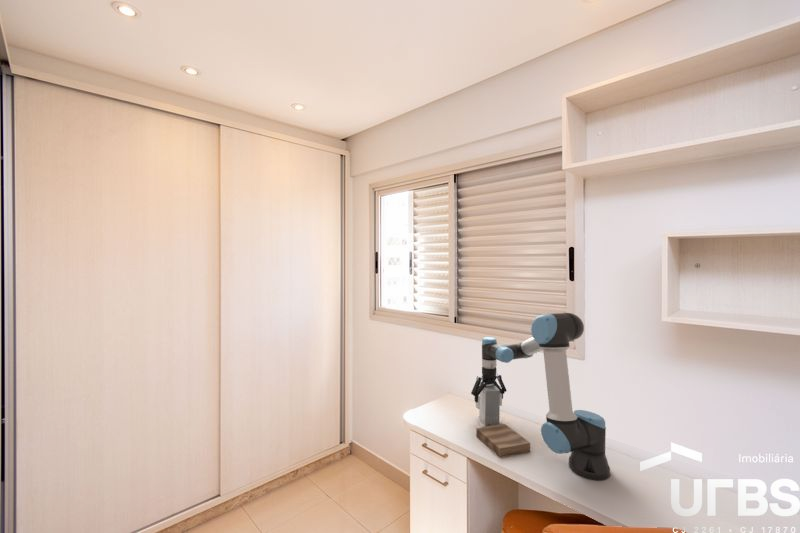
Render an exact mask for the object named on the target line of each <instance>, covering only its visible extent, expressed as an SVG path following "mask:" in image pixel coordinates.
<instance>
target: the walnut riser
mask: <svg viewBox="0 0 800 533" xmlns="http://www.w3.org/2000/svg"><path fill="white" fill-rule="evenodd" d="M475 430H476V431H475V432H476V433H475V436H476V438H478V439H479V440H480V441H481V442H482V443H483V444H484V445H486V446H487V448H488V449H490V450H491V451H492V452H493V453H494V454H495V455H497V457H498V458H504V457H509V456H514V455H520V454H521V455H522V454H525V453H531V442H530V441H528V439H526V438H524V437H523V436H522V435H520V434H519V433H518V432H516V431H515V430H513V429H512V428H511V427H510V426H508V425H507V424H505V423H499V425H493V426H487V427H484V426H482V427H481V426H480V427H476V429H475Z"/></svg>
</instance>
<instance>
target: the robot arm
mask: <svg viewBox="0 0 800 533" xmlns="http://www.w3.org/2000/svg"><path fill="white" fill-rule="evenodd" d="M584 330H585V324H584V322H583V320H582V319H581V318H580V317H579V316H578V315H576V314H574V313H571V312H562V313H561V312H560V313H558V312H557V313H545V314H540V315H538V316H536V317H535V319H534V320H533V321H532V324H531V327H530V333H531V337H529V338H527V339H525V340H524V341H522V342H519V343H513V344H502V345H501V344H498V342H497V338H495V337H492V336H486V337H483V338H482V340H481V366H482V367H481V376H476V381H475V383H474V384H473V388H472V390H471V392H470V393H471V395H473V396H474V402H475V408H477V410H479V409H480V396H479V394H480V393H481V391H482V390H483V388H484V387H485V386H486V385H490V384H491V385H492V384H494V385H496V387H497V388H498V389H499V390H500V407H501V406H503V399H504V395H505V392H507V388H506V386H505V383H504V381H503V378H502V375H501V374H499V373H497V361H499V362H501V363H507V364H508V363H510V362H511V361H513V360H519V359H528V358H532V357H533V355H534V354H537V353H539V352H541V351H542V352H543V360H544V368H545V369H544V371H545V381H546V388H547V389H546V390H547V399H548V400H547V402H548V408H549V410H548V412H547V413H546V414H545V420H546V422H544V423H543V424H542V425H541V428H540V432H541V437H542V439H543V441H544V443H545V444H546V446H547V448H549V449H550V450H551V451H552V452H553V453H555V454H558V455H559V454H560V455H562V454H569V453H570V456H569V457H568V467H569V469H570V470H571V471H572V472H573V473H574V474H577V475H578V476H580V477H582V478H585V479H588V480H591V481H592V480H593V481H604V480H608V479H609V478H610V476H611V468H610V465H609V462H608V459H607V456H606V430H607V427H606V420H605V418H604V417H603V416H602V415H600V414H597V413H595V412H592V411H589V410H584V409H583V410H582V409H575V410H574V411H573V402H572V393H571V392H572V391H571V385H570V375H569V366H568V358H567V350H568V349H569V348H570V346H571V345H570V342H573V341H575V340H578V339H579V338H580V337H582V336H583V334H584V332H585V331H584ZM496 380H497V381H496ZM481 381H482V382H481ZM480 383H481V384H480ZM498 383H499V384H498Z"/></svg>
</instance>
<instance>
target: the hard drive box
mask: <svg viewBox="0 0 800 533" xmlns="http://www.w3.org/2000/svg"><path fill="white" fill-rule="evenodd" d="M481 382H482V381H481ZM480 384H481V383H480ZM479 396H480V409H478V410H479V413H478V414H479V416H478V417H479V418H480V421H481V423H482V425H483V426H482V427H487V426H493V425H499V424H500V412H501V411H500V407H501V406H500V390H499V389H498V388H497V387H496V385H494V384H492V385H491V384H490V385H486V386H485V387H484V388H483V390H482V391H481V393H480V394H479Z"/></svg>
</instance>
